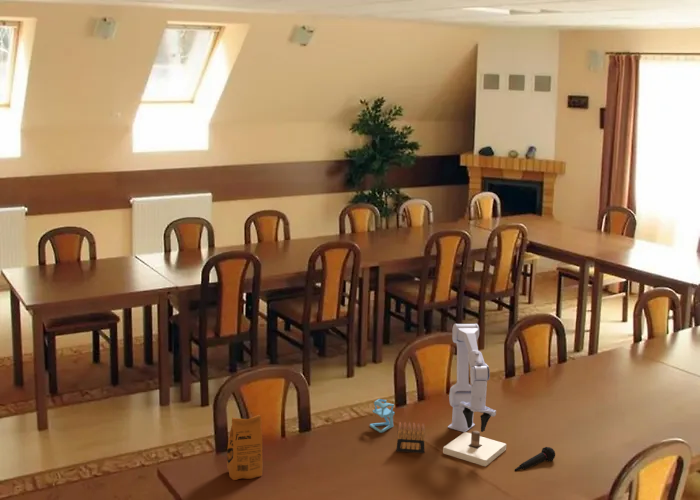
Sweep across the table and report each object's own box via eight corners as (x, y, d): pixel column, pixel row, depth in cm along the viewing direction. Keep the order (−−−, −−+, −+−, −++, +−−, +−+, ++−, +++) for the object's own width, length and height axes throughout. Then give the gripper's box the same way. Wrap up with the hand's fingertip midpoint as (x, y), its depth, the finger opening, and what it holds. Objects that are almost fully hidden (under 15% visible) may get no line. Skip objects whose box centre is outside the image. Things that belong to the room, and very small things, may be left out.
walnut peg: (472, 449, 348) (474, 430, 346) (480, 451, 346) (481, 432, 344) (468, 452, 345) (470, 432, 343) (476, 454, 343) (477, 435, 342)
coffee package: (225, 469, 325) (225, 412, 320) (259, 465, 329) (259, 409, 324) (229, 482, 316) (229, 424, 311) (264, 478, 319) (264, 420, 314)
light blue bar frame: (396, 428, 364) (398, 401, 362) (380, 433, 360) (381, 405, 357) (385, 422, 370) (386, 394, 368) (369, 426, 366) (370, 398, 363)
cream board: (464, 437, 358) (464, 431, 357) (505, 449, 348) (506, 443, 347) (443, 453, 343) (443, 447, 343) (485, 466, 333) (486, 460, 333)
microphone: (518, 480, 330) (556, 461, 341) (521, 469, 327) (559, 450, 338) (508, 471, 334) (546, 452, 344) (511, 459, 331) (549, 441, 341)
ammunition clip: (424, 451, 345) (425, 422, 342) (424, 453, 343) (425, 424, 340) (396, 449, 346) (397, 420, 343) (396, 451, 344) (397, 422, 341)
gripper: (456, 394, 341) (454, 427, 344) (491, 403, 333) (488, 437, 336) (465, 388, 347) (463, 421, 350) (499, 397, 339) (496, 431, 342)
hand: (476, 428), depth 344 cm, fingers open, 5 cm apart
